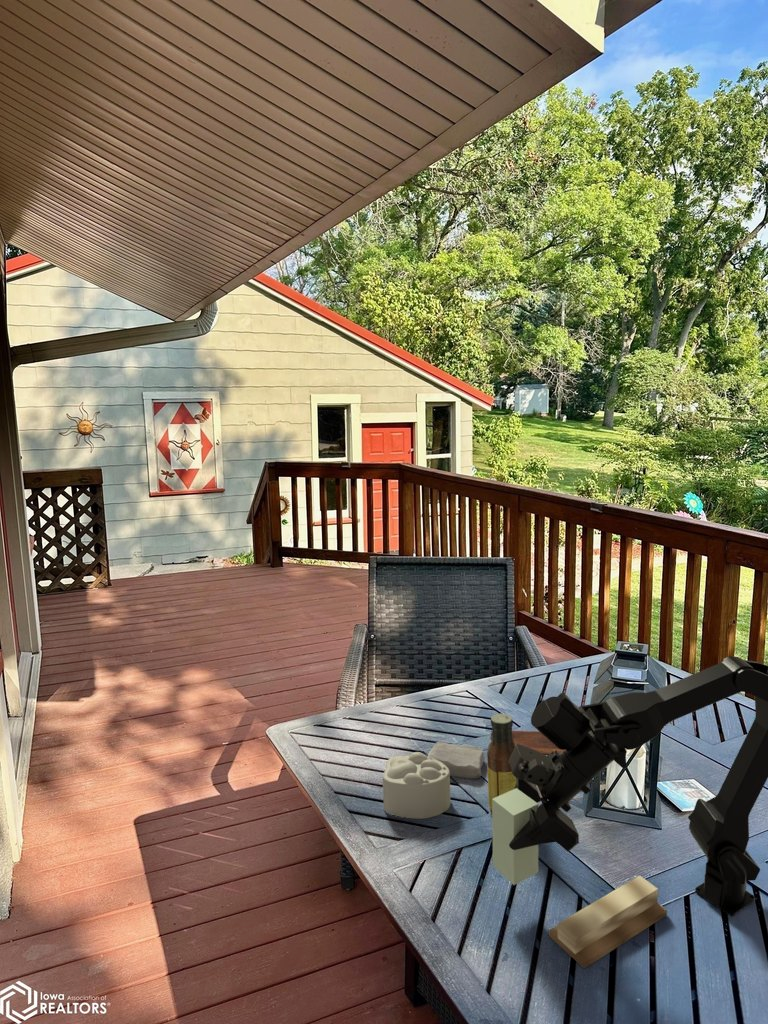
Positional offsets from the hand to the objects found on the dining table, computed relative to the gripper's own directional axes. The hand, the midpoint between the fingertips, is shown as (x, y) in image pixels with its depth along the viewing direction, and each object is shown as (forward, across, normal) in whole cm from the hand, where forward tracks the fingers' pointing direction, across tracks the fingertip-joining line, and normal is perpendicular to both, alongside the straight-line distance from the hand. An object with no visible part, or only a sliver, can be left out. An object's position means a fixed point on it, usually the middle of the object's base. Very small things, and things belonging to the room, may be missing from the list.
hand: (506, 832), depth 108 cm
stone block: (+12, -41, +8) cm, 43 cm away
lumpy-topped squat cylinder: (+18, -28, +1) cm, 33 cm away
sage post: (+4, 0, +6) cm, 7 cm away
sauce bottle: (+7, -24, +12) cm, 27 cm away
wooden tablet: (-3, -48, +23) cm, 53 cm away
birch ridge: (-1, +5, +20) cm, 20 cm away
